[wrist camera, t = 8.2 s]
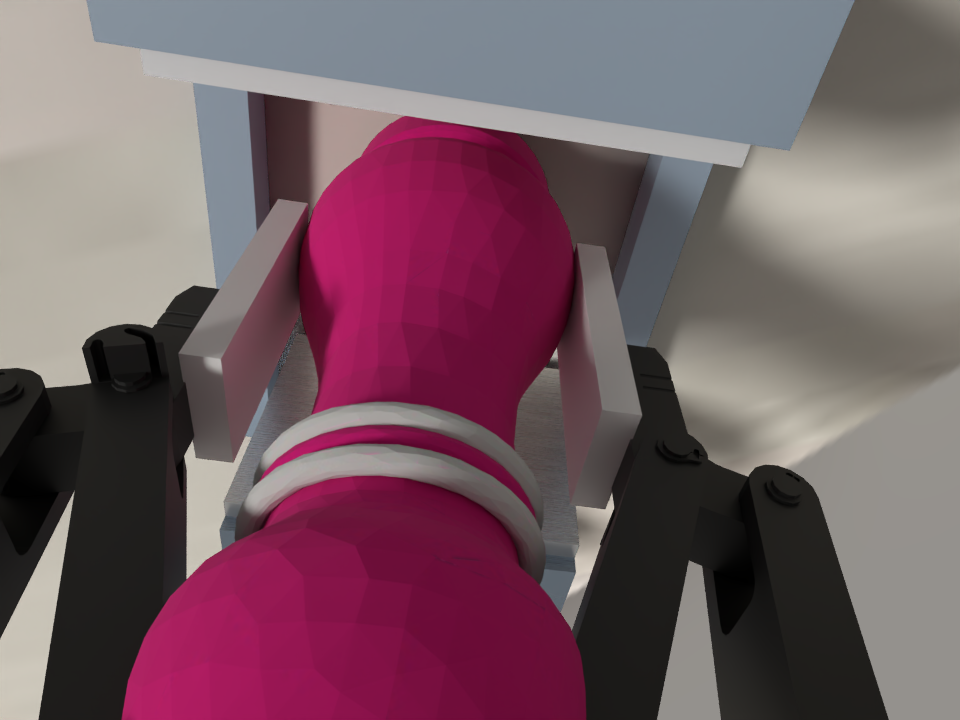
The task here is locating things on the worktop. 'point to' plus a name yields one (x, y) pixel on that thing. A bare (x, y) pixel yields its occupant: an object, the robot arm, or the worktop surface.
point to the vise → (497, 91)
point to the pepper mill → (396, 466)
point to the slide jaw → (533, 443)
